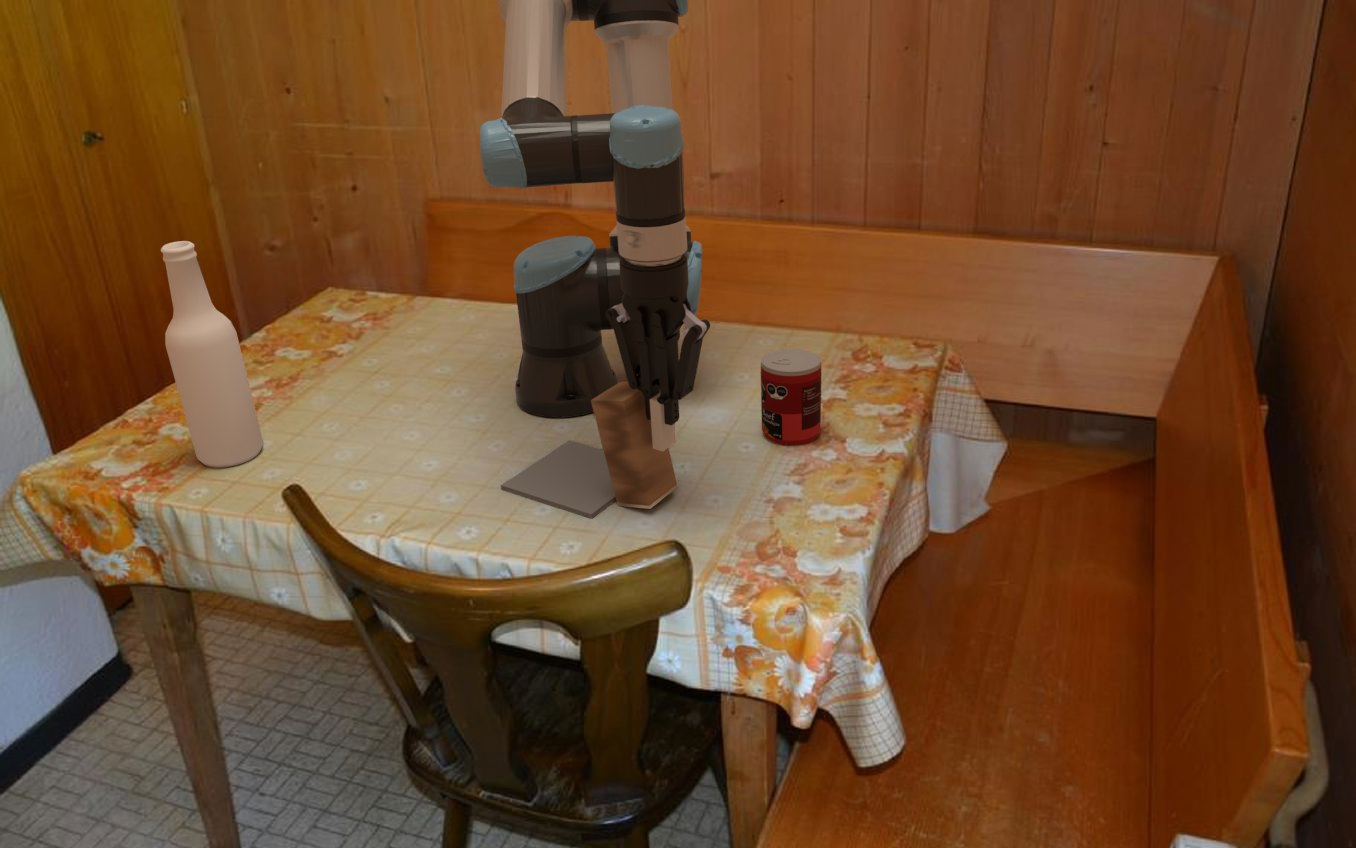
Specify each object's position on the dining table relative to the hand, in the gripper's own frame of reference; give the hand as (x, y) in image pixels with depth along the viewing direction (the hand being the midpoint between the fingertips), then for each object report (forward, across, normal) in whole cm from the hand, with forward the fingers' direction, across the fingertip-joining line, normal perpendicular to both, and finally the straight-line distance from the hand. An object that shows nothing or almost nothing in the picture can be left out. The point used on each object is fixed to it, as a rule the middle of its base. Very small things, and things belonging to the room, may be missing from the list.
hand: (664, 445), depth 131 cm
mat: (+8, -13, 0) cm, 16 cm away
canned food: (+9, +5, +24) cm, 26 cm away
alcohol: (+9, -61, -18) cm, 64 cm away
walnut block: (+8, -3, 0) cm, 8 cm away
